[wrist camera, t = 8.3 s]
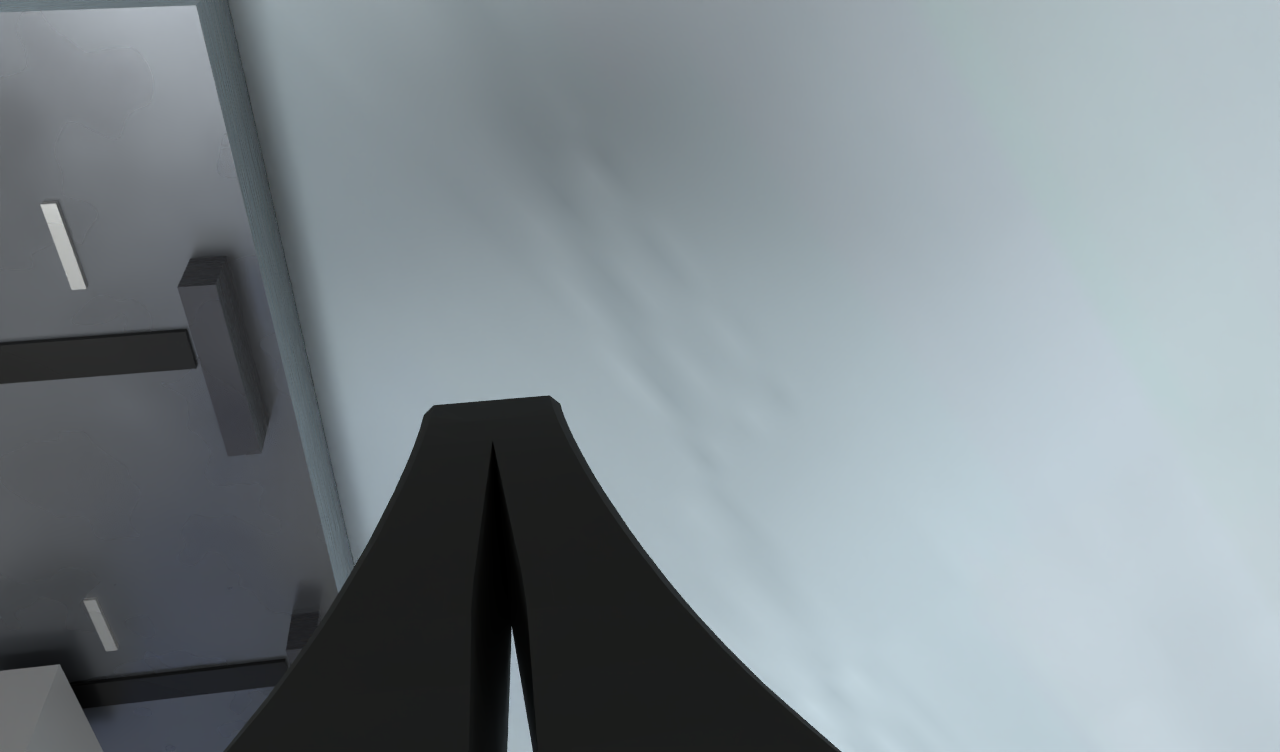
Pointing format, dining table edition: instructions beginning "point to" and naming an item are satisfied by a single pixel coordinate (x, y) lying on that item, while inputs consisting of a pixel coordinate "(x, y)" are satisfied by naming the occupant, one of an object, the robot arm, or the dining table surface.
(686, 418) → the dining table surface
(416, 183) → the dining table surface
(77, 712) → the fader
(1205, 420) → the dining table surface
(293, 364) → the console
